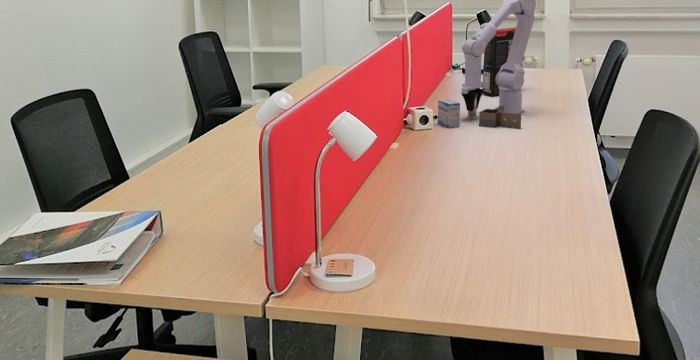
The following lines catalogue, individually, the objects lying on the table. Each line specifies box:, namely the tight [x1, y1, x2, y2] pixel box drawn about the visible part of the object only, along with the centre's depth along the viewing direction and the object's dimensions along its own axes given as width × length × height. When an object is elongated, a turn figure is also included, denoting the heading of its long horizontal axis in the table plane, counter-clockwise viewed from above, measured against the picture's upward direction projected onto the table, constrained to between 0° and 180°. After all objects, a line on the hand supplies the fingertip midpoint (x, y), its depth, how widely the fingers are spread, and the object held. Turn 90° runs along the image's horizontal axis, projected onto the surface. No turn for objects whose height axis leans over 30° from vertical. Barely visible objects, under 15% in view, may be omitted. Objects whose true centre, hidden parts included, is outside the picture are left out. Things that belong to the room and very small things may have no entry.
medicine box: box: [437, 99, 461, 129], centre depth 271 cm, size 8×4×9 cm, turn 25°
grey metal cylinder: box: [467, 94, 478, 118], centre depth 280 cm, size 4×4×8 cm
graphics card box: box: [481, 27, 523, 97], centre depth 321 cm, size 17×7×27 cm, turn 124°
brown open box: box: [478, 108, 522, 130], centre depth 268 cm, size 6×14×5 cm, turn 56°
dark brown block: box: [478, 105, 504, 129], centre depth 273 cm, size 14×6×5 cm, turn 146°
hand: (472, 109), depth 280 cm, fingers closed on grey metal cylinder, 3 cm apart
